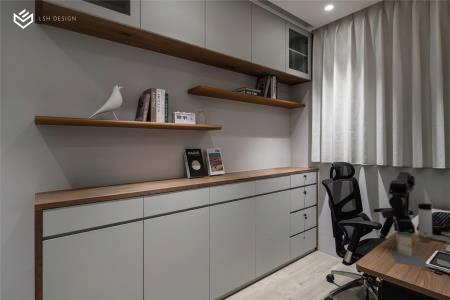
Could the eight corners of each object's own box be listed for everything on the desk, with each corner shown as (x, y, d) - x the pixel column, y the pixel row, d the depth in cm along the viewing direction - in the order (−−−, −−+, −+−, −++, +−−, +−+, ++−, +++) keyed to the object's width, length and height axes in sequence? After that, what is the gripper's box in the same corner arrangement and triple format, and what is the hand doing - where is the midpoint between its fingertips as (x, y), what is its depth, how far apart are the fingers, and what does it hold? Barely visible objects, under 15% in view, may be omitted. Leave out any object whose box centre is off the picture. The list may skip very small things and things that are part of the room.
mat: (388, 250, 125) (388, 249, 125) (417, 254, 120) (417, 253, 120) (396, 264, 110) (396, 263, 110) (429, 269, 105) (429, 267, 105)
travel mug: (427, 239, 139) (427, 204, 140) (416, 235, 146) (415, 202, 146) (435, 237, 141) (434, 203, 141) (423, 234, 147) (422, 201, 148)
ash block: (397, 251, 123) (396, 231, 123) (408, 252, 121) (408, 232, 121) (399, 254, 118) (399, 234, 119) (412, 256, 116) (411, 235, 116)
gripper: (378, 200, 138) (378, 227, 138) (385, 207, 121) (385, 238, 121) (401, 201, 133) (402, 229, 133) (412, 209, 116) (413, 241, 116)
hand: (400, 234), depth 126 cm, fingers closed
